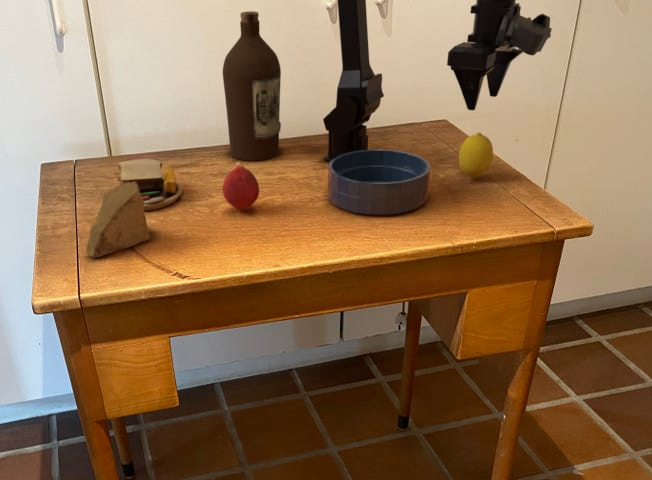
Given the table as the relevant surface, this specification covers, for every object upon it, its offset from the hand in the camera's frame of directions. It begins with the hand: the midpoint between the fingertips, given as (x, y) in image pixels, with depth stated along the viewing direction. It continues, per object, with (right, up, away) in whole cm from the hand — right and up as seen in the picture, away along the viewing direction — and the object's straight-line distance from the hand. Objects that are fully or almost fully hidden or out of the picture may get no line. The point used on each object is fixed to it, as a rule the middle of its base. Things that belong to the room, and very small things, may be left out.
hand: (482, 103), depth 120 cm
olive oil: (-37, -2, +23) cm, 44 cm away
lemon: (+1, -11, +7) cm, 13 cm away
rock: (-57, -25, -10) cm, 63 cm away
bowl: (-17, -15, +2) cm, 23 cm away
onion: (-39, -18, 0) cm, 43 cm away
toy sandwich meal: (-56, -14, +6) cm, 58 cm away
